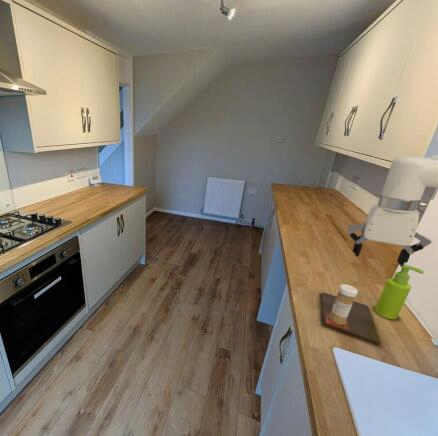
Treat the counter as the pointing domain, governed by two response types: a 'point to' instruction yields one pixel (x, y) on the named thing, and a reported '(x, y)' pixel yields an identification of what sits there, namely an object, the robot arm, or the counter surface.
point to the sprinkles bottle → (343, 304)
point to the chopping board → (351, 320)
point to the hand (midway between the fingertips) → (377, 259)
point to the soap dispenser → (395, 293)
